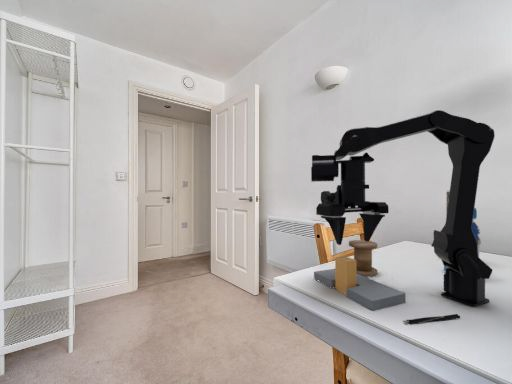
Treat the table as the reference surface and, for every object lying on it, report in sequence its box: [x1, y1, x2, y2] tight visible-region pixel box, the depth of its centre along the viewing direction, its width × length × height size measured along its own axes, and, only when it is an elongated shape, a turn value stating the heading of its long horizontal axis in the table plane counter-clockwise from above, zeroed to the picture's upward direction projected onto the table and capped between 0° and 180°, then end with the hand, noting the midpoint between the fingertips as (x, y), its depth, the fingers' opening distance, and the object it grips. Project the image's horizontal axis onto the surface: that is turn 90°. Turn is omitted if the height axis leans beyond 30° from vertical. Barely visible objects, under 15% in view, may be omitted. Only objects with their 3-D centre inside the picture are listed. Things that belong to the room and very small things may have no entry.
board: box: [313, 268, 407, 312], centre depth 62 cm, size 20×10×2 cm, turn 23°
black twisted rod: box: [402, 313, 461, 326], centre depth 47 cm, size 12×1×1 cm, turn 101°
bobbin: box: [348, 239, 378, 278], centre depth 75 cm, size 8×8×9 cm
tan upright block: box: [334, 255, 356, 296], centre depth 61 cm, size 4×3×8 cm
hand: (353, 242), depth 62 cm, fingers open, 9 cm apart
